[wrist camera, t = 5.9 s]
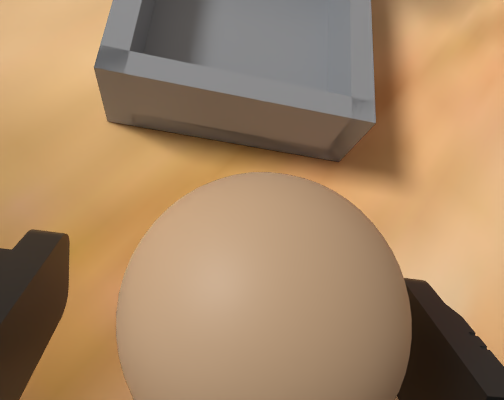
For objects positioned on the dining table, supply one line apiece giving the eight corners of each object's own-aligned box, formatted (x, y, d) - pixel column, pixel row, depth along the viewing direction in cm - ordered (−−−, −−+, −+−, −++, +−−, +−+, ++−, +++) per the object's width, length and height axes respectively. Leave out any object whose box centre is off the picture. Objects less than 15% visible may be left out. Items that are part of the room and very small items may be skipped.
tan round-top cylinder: (133, 392, 13) (31, 551, 3) (156, 263, 15) (138, 85, 5) (260, 400, 14) (521, 552, 4) (269, 276, 16) (467, 149, 5)
